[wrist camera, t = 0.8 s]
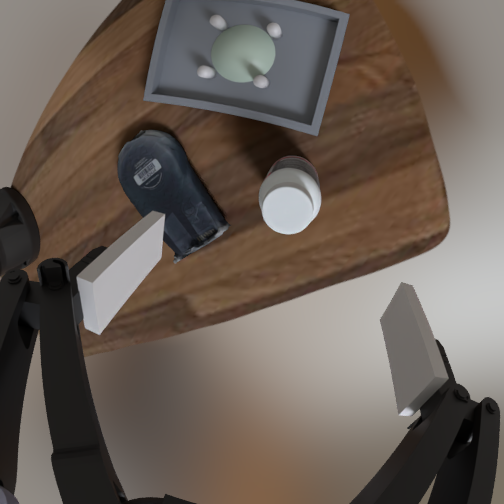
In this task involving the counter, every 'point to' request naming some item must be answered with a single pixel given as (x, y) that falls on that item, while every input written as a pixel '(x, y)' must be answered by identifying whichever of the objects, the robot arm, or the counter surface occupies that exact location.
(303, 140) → the counter surface
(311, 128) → the tray
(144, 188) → the electronic device
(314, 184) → the pill bottle
